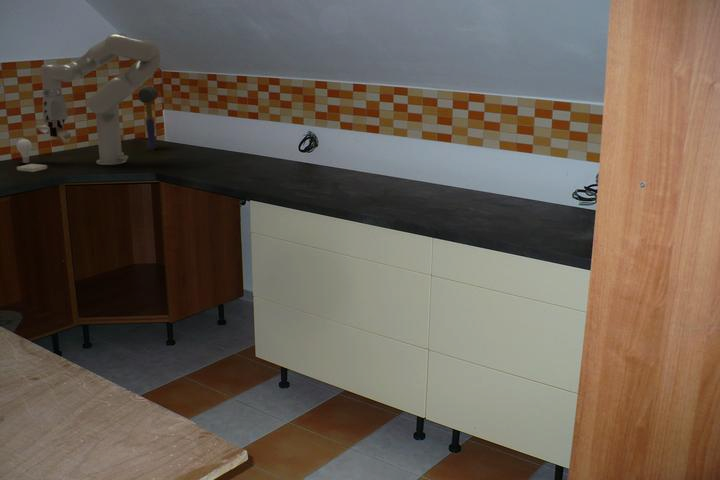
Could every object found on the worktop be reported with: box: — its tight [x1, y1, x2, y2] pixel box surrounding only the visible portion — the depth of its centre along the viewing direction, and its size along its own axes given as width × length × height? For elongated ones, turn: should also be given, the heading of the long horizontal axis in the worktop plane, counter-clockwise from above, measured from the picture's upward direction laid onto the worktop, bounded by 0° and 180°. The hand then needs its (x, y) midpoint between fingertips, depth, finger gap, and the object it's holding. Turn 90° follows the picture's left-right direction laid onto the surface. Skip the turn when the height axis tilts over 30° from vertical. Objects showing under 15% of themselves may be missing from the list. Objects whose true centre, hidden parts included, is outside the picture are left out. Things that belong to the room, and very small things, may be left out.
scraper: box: [34, 124, 72, 144], centre depth 356 cm, size 16×6×4 cm, turn 67°
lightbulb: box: [15, 138, 33, 165], centre depth 359 cm, size 6×6×11 cm
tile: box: [16, 163, 48, 173], centre depth 347 cm, size 2×8×9 cm
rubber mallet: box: [137, 86, 159, 151], centre depth 389 cm, size 12×8×30 cm, turn 1°
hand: (56, 135), depth 356 cm, fingers closed on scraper, 3 cm apart
